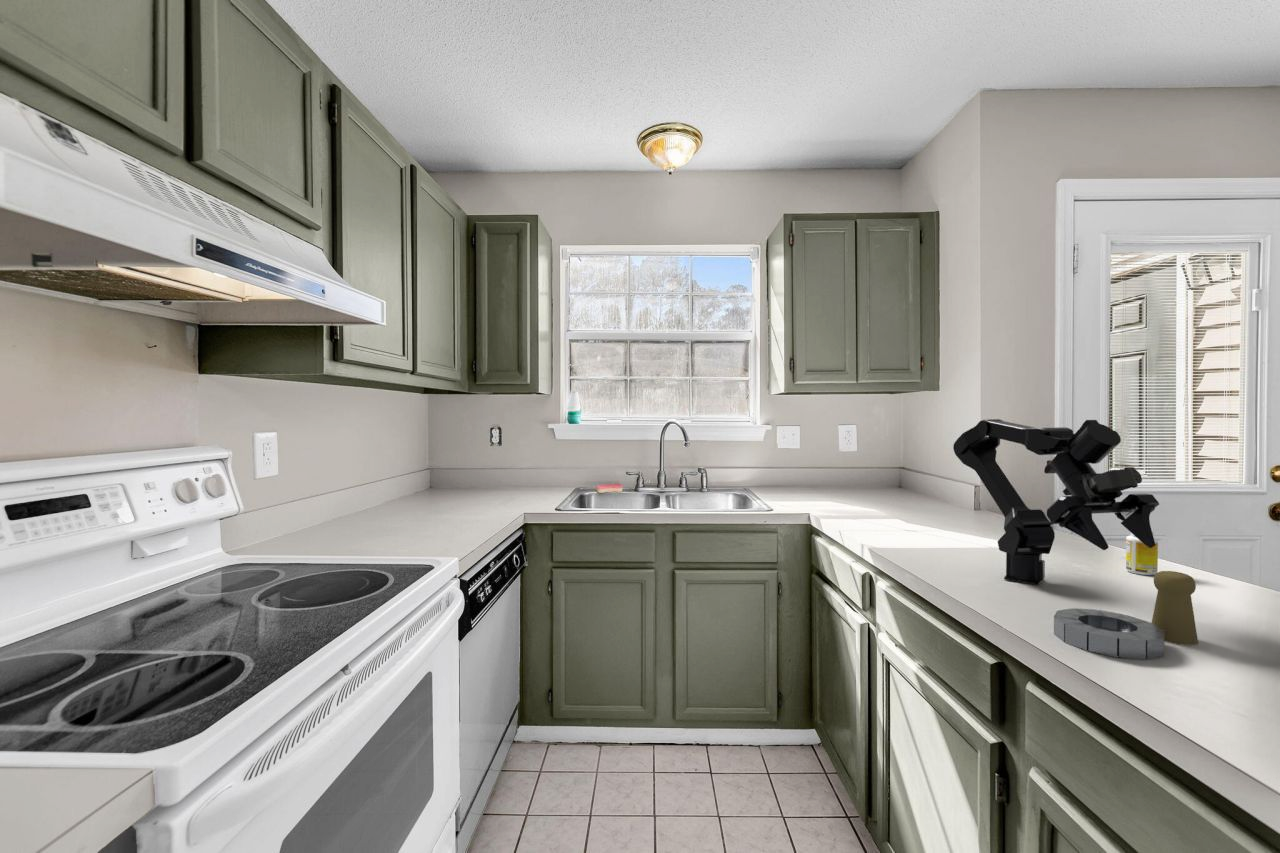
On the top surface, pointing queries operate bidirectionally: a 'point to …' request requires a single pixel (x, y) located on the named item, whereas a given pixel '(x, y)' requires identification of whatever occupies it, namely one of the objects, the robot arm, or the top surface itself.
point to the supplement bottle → (1141, 556)
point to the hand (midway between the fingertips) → (1129, 547)
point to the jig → (1109, 633)
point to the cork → (1175, 607)
